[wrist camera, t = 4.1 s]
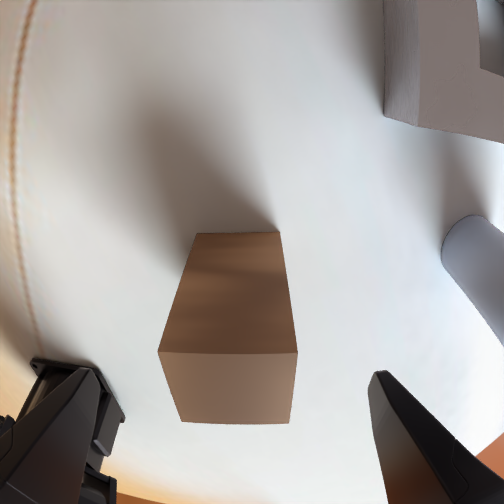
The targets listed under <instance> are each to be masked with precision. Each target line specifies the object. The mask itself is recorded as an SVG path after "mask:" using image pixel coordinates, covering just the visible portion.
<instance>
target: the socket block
mask: <svg viewBox="0 0 504 504" xmlns="http://www.w3.org/2000/svg"><path fill="white" fill-rule="evenodd" d="M496 1H498V2H500V3H502V4H504V0H496ZM383 8H384V28H385V100H384V116H385V117H388V118H392V119H395V120H398V121H402V122H405V123H408V124H411V125H414V126H418V127H424V128H430V129H436V130H442V131H448V132H453V133H458V134H464V135H468V136H473V137H478V138H482V139H487V140H491V141H495V142H499V143H503V144H504V77H502V76H500V75H497V74H495V73H492V72H490V71H487V70H484V69H482V68H480V42H479V25H478V13H477V4H476V0H383Z"/></svg>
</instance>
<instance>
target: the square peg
mask: <svg viewBox="0 0 504 504" xmlns="http://www.w3.org/2000/svg"><path fill="white" fill-rule="evenodd" d="M158 355H159V358H160V361H161V364H162V368H163V371H164V374H165V377H166V380H167V383H168V385H169V388H170V391H171V394H172V397H173V400H174V402H175V405H176V408H177V411H178V413H179V416H180V419H181V421H182V422H193V423H210V424H287V423H289V419H290V412H291V405H292V397H293V389H294V381H295V373H296V365H297V356H298V351H297V343H296V336H295V329H294V322H293V315H292V308H291V301H290V294H289V288H288V281H287V274H286V268H285V262H284V255H283V249H282V243H281V236H280V232H246V233H197V235H196V238H195V240H194V243H193V246H192V249H191V251H190V254H189V257H188V260H187V263H186V266H185V269H184V271H183V274H182V277H181V280H180V283H179V286H178V289H177V292H176V295H175V298H174V301H173V304H172V307H171V310H170V313H169V316H168V320H167V323H166V326H165V329H164V332H163V335H162V339H161V342H160V345H159V348H158Z"/></svg>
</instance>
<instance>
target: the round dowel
mask: <svg viewBox="0 0 504 504" xmlns="http://www.w3.org/2000/svg"><path fill="white" fill-rule="evenodd" d="M441 260H442V264H443V266H444V268H445V269H446V271H447V272H448V273H449V274H450V276H451V277H452V278H453V279H454V280H455V282H456V283H457V284H458V285H459V287H460V288H461V289H462V290H463V292H464V293H465V294H466V296H467V297H468V298H469V299H470V301H471V302H472V303H473V305H474V306H475V307H476V309H477V310H478V311H479V313H480V314H481V315H482V317H483V318H484V319H485V321H486V322H487V324H488V325H489V326H490V328H491V329H492V331H493V332H494V334H495V335H496V336H497V338H498V339H499V341H500V342H501V344H502V345H503V347H504V233H503V232H501V231H500V230H499V229H498V228H496V227H495V226H494V225H493V224H491V223H490V222H489V221H488V220H486V219H485V218H483V217H482V216H479V215H471V216H467V217H465V218H463V219H461V220H460V221H459V222H457V223H456V224H455V225H454V226H453V227H452V229H451V230H450V231H449V233H448V234H447V236H446V238H445V240H444V243H443V246H442V251H441Z"/></svg>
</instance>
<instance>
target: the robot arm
mask: <svg viewBox="0 0 504 504" xmlns="http://www.w3.org/2000/svg"><path fill="white" fill-rule="evenodd" d="M30 365H31V367H32V368H33V370H34V372H35V373H36V375H37V376H38V378H37V380H36V382H35V384H34V385H33V387H32V389H31V391H30V393H29V395H28V397H27V399H26V401H25V403H24V405H23V407H22V409H21V411H20V413H19V415H18V417H17V419H16V422H15V421H14V419H13V418H12V417H11V416H9V415H7V416H6V417H5V418H4V417H3V416H0V504H116V490H117V480H116V479H115V478H113V477H111V476H106V475H104V474H102V473H100V469H101V465H102V462H103V458H104V456H107V457H108V456H109V455H110V454H111V451H112V448H113V444H114V441H115V437H116V434H117V430H118V427H119V424H120V423H124V421H125V415H124V414H123V412H122V410H121V409H120V407H119V405H118V403H117V402H116V400H115V398H114V396H113V394H112V393H111V391H110V389H109V387H108V385H107V383H106V381H105V380H104V378H103V376H102V374H101V372H100V371H98V370H97V369H94V368H88V367H81V366H75V365H69V364H63V363H57V362H52V361H47V360H42V359H37V358H32V359H31V361H30ZM368 398H369V406H370V413H371V421H372V429H373V436H374V440H375V444H376V449H377V453H378V457H379V462H380V466H381V471H382V475H383V480H384V484H385V489H386V494H387V499H388V504H504V479H502V478H501V477H500V476H498V475H497V474H496V473H495V472H493V471H492V470H491V469H490V468H488V467H487V466H486V465H484V464H483V463H482V462H481V461H480V460H478V459H477V458H476V457H475V456H474V455H472V454H471V453H470V452H469V451H468V450H467V449H466V448H465V447H464V446H463V445H462V444H461V443H460V442H459V441H458V440H457V439H456V440H455V437H454V436H453V435H452V434H451V433H450V432H449V431H448V430H447V429H446V428H445V427H444V426H443V425H442V424H441V423H440V422H439V421H438V420H437V419H436V418H435V417H434V416H433V415H432V414H431V413H430V412H429V411H428V410H427V409H426V408H425V407H424V406H423V405H422V404H421V403H420V402H419V401H418V400H417V399H416V398H415V397H414V396H413V395H412V394H411V393H410V392H409V391H408V390H407V389H406V388H405V387H404V386H403V385H402V384H401V383H400V382H399V381H398V380H397V379H396V378H395V377H394V376H393V375H392V374H391V373H390V372H388V371H387V370H382V371H376V372H374V374H373V376H372V379H371V381H370V384H369V386H368Z"/></svg>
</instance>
